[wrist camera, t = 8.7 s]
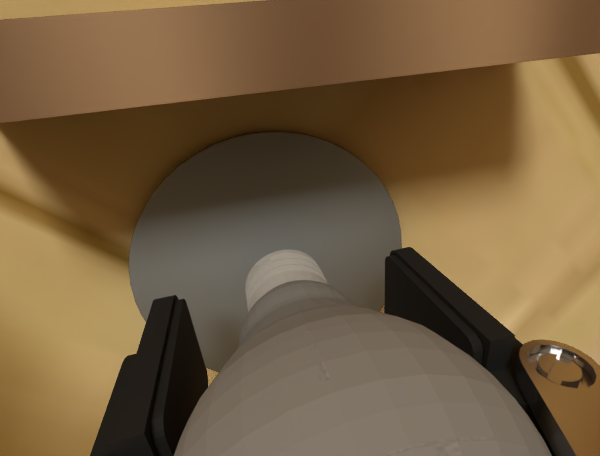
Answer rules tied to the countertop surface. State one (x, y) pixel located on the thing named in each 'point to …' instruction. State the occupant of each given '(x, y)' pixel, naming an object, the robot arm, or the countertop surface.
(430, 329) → the robot arm
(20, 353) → the countertop surface
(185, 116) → the countertop surface
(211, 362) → the pad
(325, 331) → the light bulb
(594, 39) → the walnut rail
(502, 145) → the countertop surface
